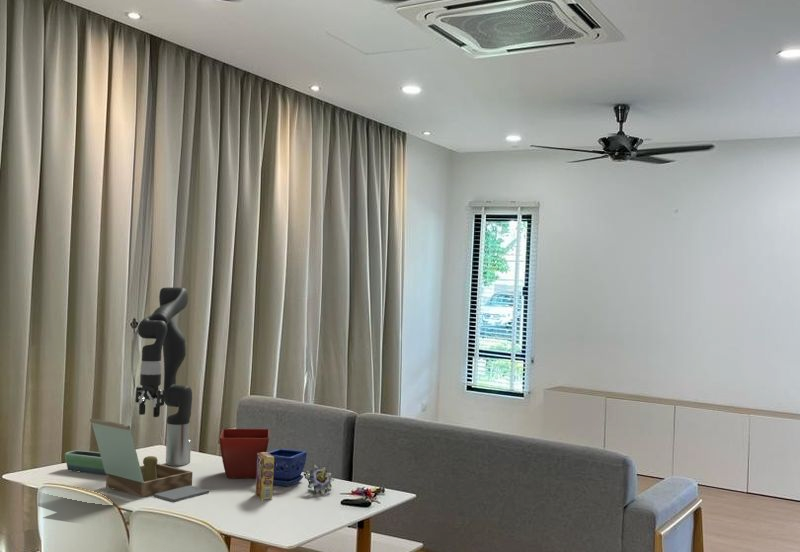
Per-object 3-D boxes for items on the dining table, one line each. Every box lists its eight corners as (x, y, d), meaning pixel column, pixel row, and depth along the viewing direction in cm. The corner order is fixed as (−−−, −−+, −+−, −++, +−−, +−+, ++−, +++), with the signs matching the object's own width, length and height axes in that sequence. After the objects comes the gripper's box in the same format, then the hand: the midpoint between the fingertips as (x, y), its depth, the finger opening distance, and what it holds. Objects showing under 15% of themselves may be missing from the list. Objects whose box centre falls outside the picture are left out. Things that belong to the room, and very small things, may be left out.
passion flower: (321, 508, 283) (311, 486, 277) (303, 497, 291) (292, 475, 285) (342, 487, 290) (333, 465, 283) (323, 477, 297) (314, 455, 291)
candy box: (273, 499, 275) (274, 456, 275) (261, 500, 273) (263, 457, 273) (266, 493, 283) (267, 451, 283) (255, 494, 281) (256, 452, 281)
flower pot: (260, 484, 294) (261, 453, 294) (278, 477, 307) (279, 447, 307) (290, 489, 289) (291, 457, 289) (307, 481, 302) (308, 451, 302)
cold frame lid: (92, 418, 280) (89, 419, 279) (129, 425, 268) (127, 426, 267) (106, 472, 285) (104, 473, 284) (143, 481, 273) (141, 483, 272)
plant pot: (267, 480, 301) (268, 437, 301) (218, 481, 298) (219, 437, 298) (268, 469, 320) (269, 428, 320) (221, 469, 317) (222, 428, 317)
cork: (143, 483, 291) (144, 454, 291) (159, 483, 291) (160, 455, 291) (139, 488, 285) (140, 458, 285) (155, 488, 285) (156, 458, 285)
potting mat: (189, 487, 287) (189, 485, 287) (209, 492, 281) (209, 490, 281) (153, 496, 274) (154, 494, 274) (174, 501, 268) (174, 499, 268)
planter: (131, 474, 306) (132, 456, 306) (119, 478, 299) (119, 459, 299) (76, 467, 315) (76, 449, 315) (63, 471, 308) (63, 453, 308)
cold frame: (154, 475, 303) (155, 463, 303) (192, 485, 291) (192, 471, 291) (106, 486, 285) (106, 473, 285) (143, 497, 273) (143, 483, 273)
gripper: (171, 373, 289) (169, 416, 288) (147, 370, 297) (145, 412, 297) (154, 374, 283) (152, 418, 282) (130, 371, 291) (128, 414, 291)
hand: (149, 415), depth 289 cm, fingers open, 8 cm apart
